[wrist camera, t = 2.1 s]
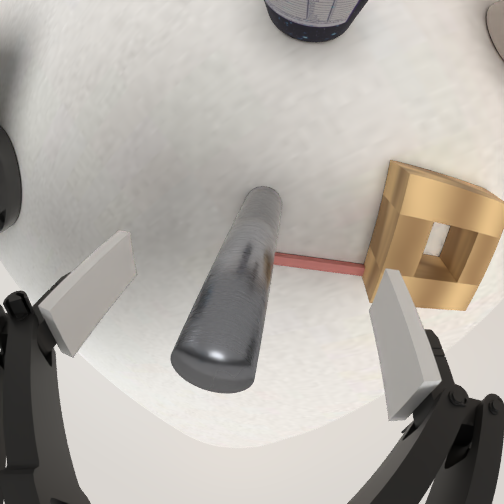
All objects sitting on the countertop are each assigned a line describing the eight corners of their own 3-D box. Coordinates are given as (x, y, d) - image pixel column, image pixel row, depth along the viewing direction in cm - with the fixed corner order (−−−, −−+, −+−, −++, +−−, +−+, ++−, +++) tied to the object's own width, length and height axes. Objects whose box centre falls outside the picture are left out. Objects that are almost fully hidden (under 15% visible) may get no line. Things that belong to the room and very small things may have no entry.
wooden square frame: (360, 273, 23) (369, 302, 19) (390, 159, 18) (410, 173, 14) (449, 284, 22) (465, 310, 19) (485, 188, 17) (511, 206, 13)
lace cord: (223, 253, 24) (222, 257, 23) (224, 245, 24) (222, 248, 23) (361, 272, 23) (362, 276, 22) (363, 264, 22) (365, 268, 22)
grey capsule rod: (244, 218, 22) (176, 383, 9) (246, 184, 21) (164, 334, 8) (279, 222, 22) (251, 398, 9) (284, 188, 20) (258, 352, 8)
